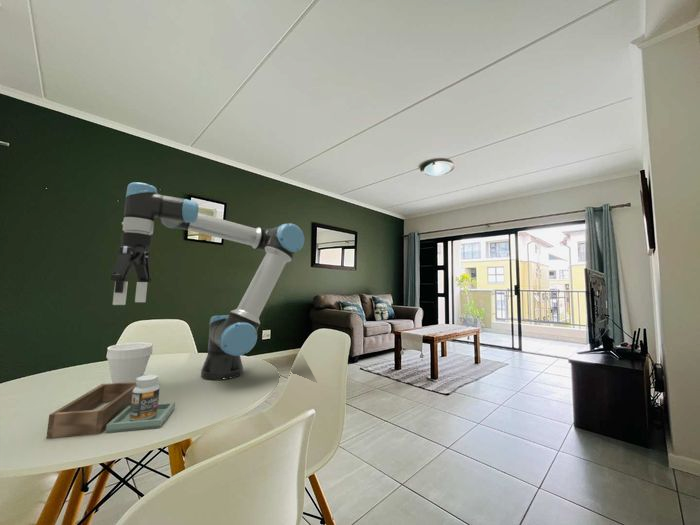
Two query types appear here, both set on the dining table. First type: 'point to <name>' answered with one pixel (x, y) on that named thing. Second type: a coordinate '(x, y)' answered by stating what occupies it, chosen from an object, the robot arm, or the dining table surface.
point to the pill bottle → (145, 398)
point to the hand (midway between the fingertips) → (130, 303)
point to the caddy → (90, 411)
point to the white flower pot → (128, 361)
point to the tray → (125, 424)
